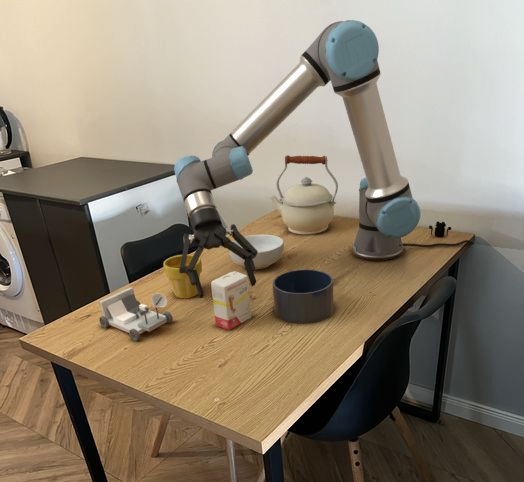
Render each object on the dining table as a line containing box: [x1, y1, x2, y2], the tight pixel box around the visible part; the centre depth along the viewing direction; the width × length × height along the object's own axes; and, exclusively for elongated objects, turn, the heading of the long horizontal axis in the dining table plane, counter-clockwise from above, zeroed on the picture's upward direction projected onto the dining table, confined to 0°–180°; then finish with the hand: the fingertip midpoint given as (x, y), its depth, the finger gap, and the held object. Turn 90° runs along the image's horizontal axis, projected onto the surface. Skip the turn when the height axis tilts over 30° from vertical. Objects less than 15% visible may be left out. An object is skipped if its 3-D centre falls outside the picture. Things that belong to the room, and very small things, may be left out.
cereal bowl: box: [227, 233, 285, 270], centre depth 167 cm, size 17×17×7 cm
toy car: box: [98, 286, 174, 342], centre depth 137 cm, size 18×10×12 cm
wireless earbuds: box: [428, 221, 452, 238], centre depth 177 cm, size 7×2×5 cm, turn 65°
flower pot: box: [163, 254, 203, 299], centre depth 152 cm, size 10×10×10 cm
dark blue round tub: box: [271, 268, 334, 324], centre depth 139 cm, size 15×15×8 cm
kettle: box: [269, 154, 339, 236], centre depth 189 cm, size 25×18×25 cm
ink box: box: [210, 270, 252, 331], centre depth 135 cm, size 9×5×12 cm, turn 139°
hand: (228, 289), depth 135 cm, fingers open, 13 cm apart
